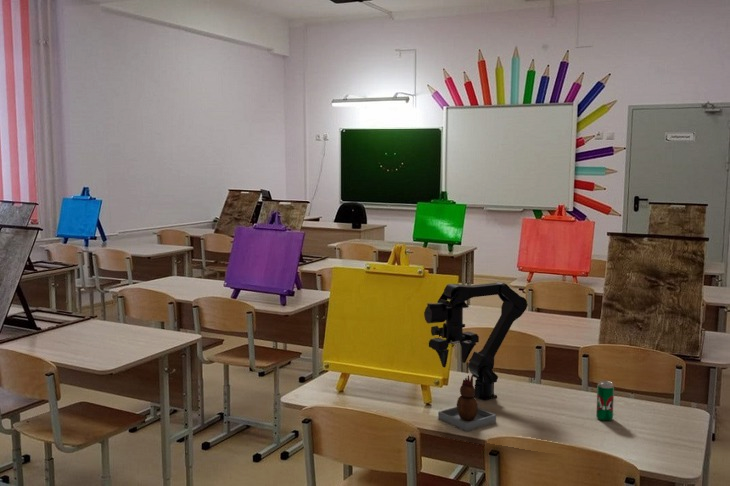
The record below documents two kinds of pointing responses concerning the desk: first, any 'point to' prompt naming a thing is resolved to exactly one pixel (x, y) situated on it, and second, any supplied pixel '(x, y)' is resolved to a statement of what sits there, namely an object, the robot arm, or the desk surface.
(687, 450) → the desk surface
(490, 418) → the tray
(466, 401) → the wooden figurine
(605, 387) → the soda can
